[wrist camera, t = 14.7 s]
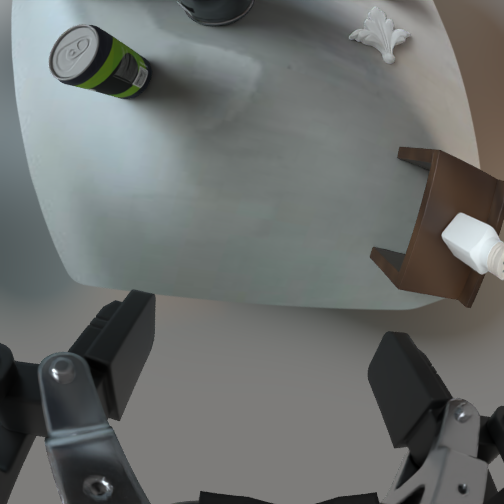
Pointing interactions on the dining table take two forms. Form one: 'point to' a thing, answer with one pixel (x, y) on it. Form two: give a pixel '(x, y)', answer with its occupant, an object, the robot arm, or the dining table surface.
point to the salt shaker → (475, 244)
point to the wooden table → (443, 227)
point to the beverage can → (98, 63)
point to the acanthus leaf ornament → (380, 34)
